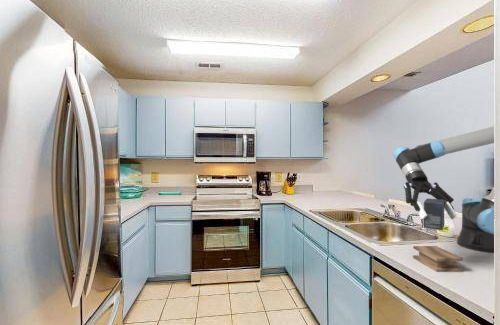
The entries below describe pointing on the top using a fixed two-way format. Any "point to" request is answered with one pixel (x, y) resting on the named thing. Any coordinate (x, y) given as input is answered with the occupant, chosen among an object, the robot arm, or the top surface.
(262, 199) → the top surface
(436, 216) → the small box
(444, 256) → the stand
